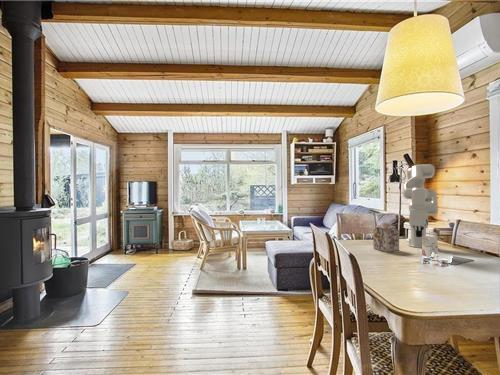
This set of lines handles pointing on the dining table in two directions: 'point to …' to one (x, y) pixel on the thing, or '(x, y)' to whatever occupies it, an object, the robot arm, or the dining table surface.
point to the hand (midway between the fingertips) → (419, 236)
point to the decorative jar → (386, 238)
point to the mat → (459, 260)
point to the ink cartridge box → (429, 244)
